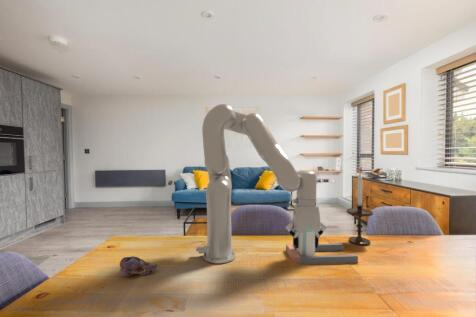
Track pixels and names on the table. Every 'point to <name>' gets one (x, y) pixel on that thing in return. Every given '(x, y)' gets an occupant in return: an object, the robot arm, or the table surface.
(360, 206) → the candlestick
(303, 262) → the track
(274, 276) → the table surface
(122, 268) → the skull
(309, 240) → the can
